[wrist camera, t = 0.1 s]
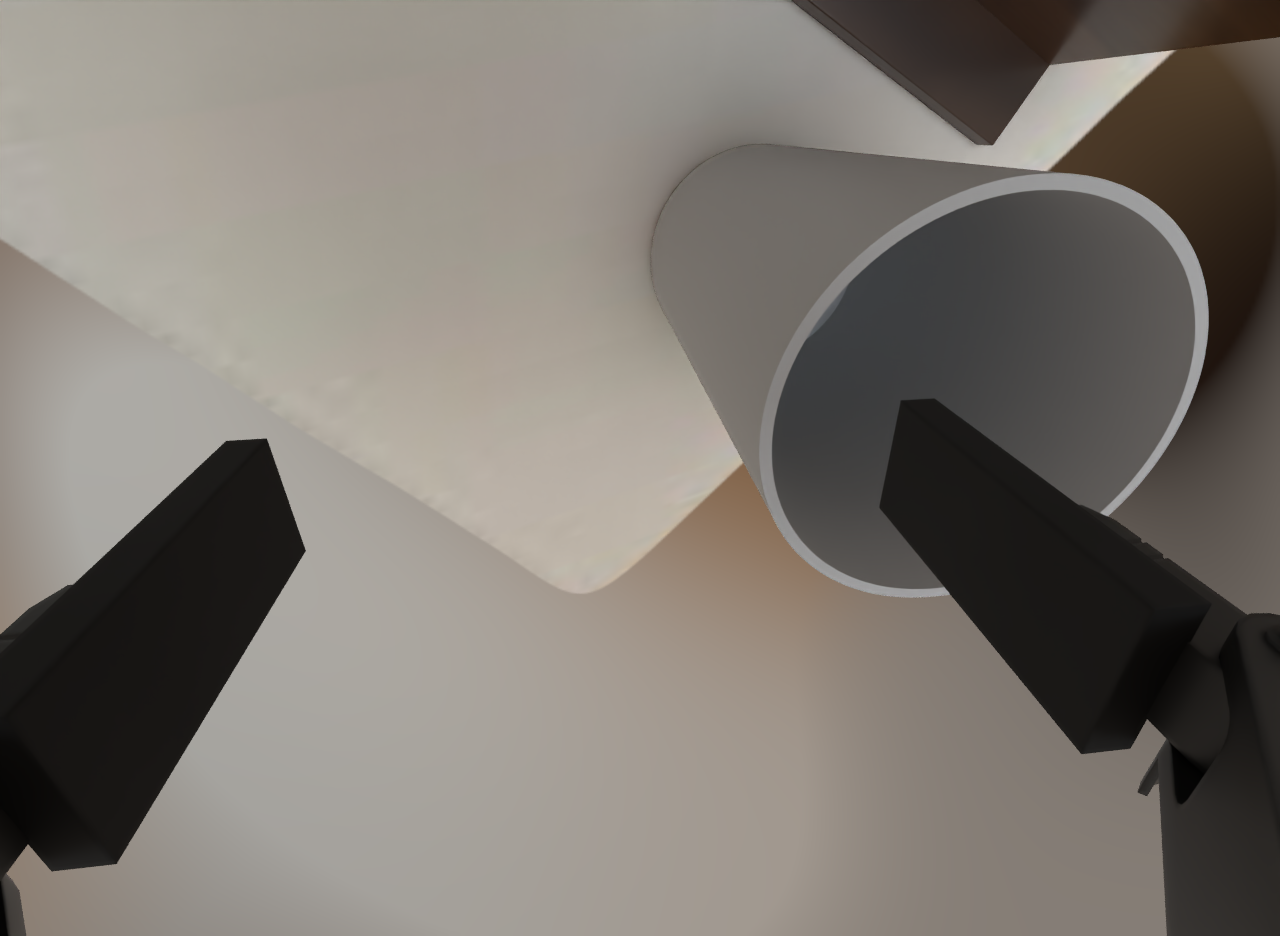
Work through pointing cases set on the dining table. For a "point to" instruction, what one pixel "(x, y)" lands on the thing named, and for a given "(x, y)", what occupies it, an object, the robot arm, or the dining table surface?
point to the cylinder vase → (925, 329)
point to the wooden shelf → (1022, 43)
